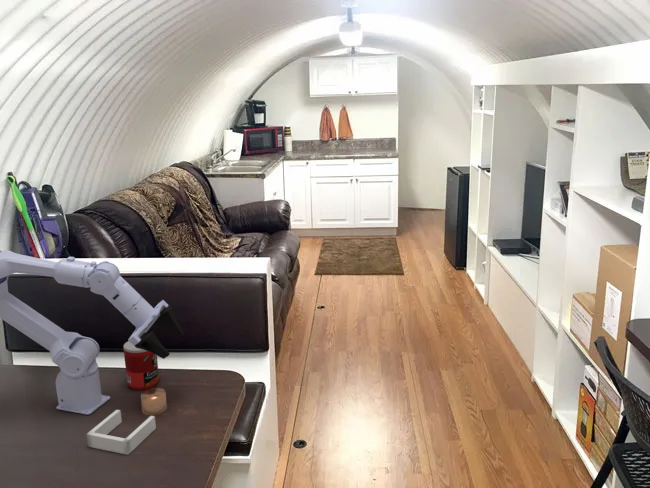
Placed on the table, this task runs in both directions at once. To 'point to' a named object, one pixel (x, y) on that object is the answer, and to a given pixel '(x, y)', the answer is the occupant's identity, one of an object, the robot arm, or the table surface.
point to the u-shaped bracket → (117, 444)
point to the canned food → (140, 367)
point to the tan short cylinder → (153, 401)
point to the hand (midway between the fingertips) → (174, 346)
